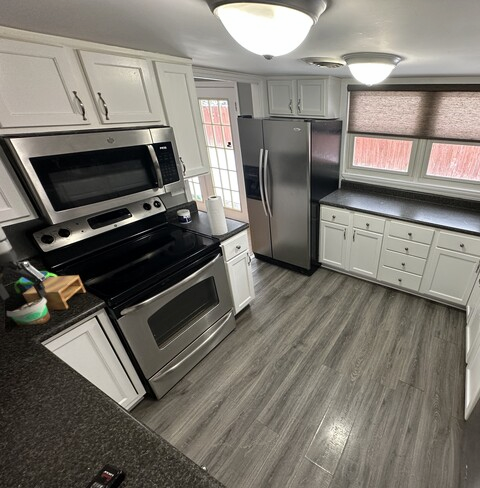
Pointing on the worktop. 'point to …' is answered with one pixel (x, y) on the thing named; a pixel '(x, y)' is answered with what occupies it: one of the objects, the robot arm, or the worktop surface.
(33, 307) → the food container
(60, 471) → the worktop surface
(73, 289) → the shelf
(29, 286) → the snack cup
